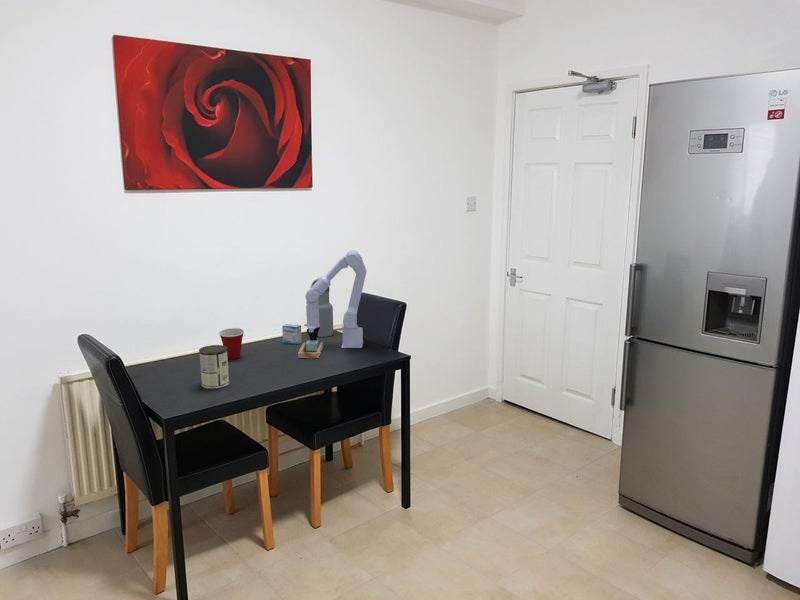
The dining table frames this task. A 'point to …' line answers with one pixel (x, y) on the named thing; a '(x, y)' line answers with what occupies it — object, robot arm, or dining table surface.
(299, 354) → the wooden tray
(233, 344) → the plastic cup
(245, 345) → the dining table surface
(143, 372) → the dining table surface
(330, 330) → the water bottle
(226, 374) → the coffee can
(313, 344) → the block
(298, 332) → the medicine box
